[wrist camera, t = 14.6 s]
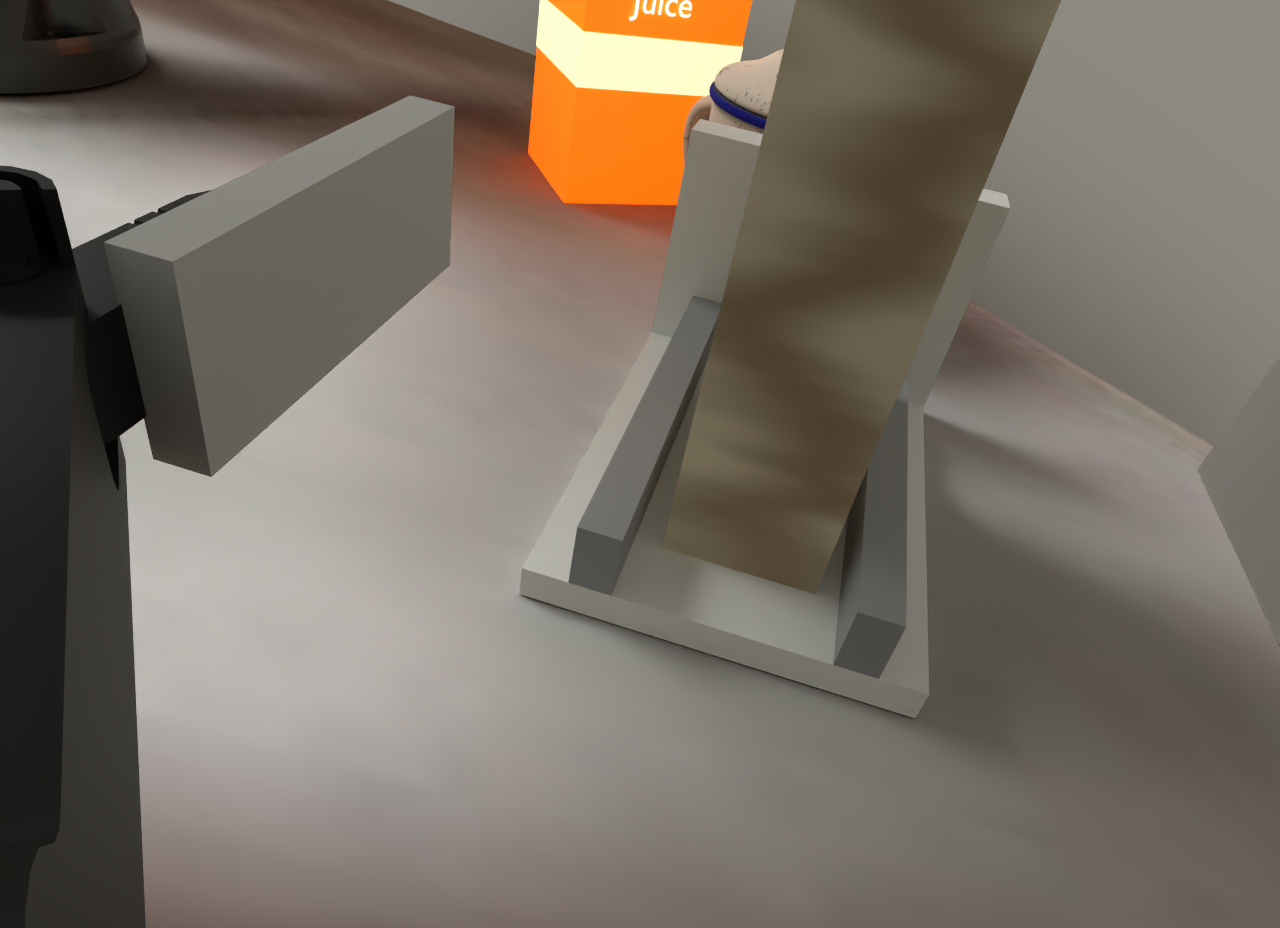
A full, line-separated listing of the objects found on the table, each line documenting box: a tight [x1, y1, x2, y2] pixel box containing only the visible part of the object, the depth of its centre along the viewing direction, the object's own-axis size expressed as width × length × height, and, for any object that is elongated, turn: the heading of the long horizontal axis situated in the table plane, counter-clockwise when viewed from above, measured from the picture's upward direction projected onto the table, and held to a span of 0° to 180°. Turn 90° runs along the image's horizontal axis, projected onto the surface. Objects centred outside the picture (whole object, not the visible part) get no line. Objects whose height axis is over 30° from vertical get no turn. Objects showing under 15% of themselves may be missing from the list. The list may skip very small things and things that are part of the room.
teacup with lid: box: [683, 49, 784, 164], centre depth 39 cm, size 12×9×12 cm
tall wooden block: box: [662, 0, 1061, 594], centre depth 23 cm, size 4×9×16 cm, turn 165°
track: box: [519, 119, 1010, 718], centre depth 27 cm, size 16×11×9 cm
